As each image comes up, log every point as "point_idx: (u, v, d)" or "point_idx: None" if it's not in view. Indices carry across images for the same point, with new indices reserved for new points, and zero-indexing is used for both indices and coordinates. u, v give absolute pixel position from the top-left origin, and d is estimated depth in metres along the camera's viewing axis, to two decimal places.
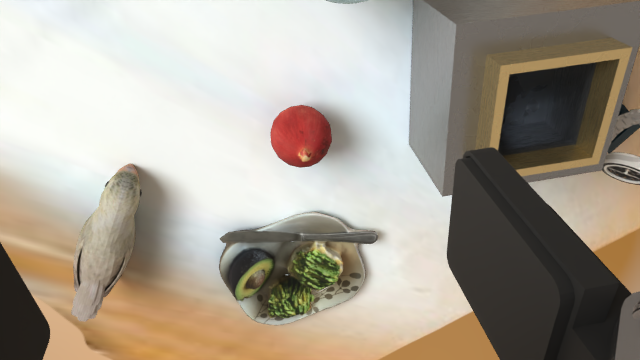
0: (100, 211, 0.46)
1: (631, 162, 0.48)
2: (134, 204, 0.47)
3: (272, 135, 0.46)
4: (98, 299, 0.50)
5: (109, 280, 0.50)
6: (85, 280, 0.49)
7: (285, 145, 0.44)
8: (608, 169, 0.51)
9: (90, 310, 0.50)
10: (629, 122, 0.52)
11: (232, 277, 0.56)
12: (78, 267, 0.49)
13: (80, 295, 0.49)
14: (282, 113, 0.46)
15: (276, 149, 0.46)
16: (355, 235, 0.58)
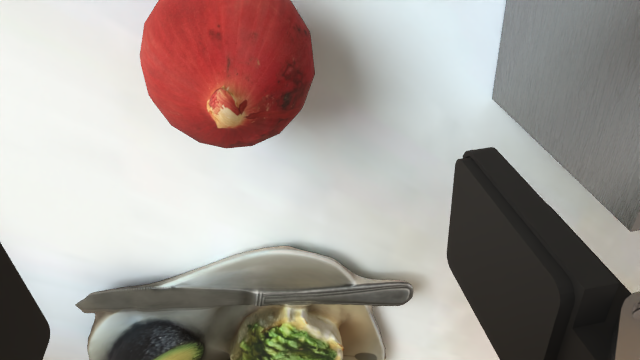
0: None
1: None
2: None
3: (141, 54, 0.16)
4: None
5: None
6: None
7: (170, 79, 0.14)
8: None
9: None
10: None
11: None
12: None
13: None
14: None
15: (152, 95, 0.16)
16: (368, 291, 0.28)
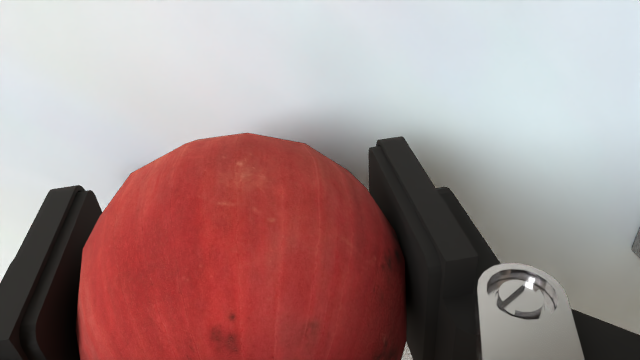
0: None
1: None
2: None
3: (77, 308, 0.08)
4: None
5: None
6: None
7: None
8: None
9: None
10: None
11: None
12: None
13: None
14: (131, 184, 0.08)
15: None
16: None
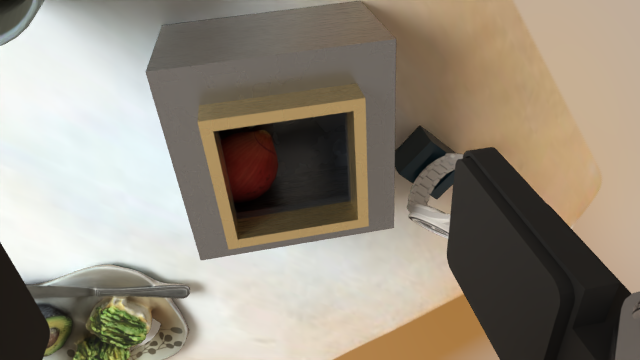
0: None
1: (430, 218, 0.41)
2: None
3: None
4: None
5: None
6: None
7: None
8: (419, 221, 0.45)
9: None
10: (448, 166, 0.46)
11: None
12: None
13: None
14: None
15: None
16: (161, 289, 0.52)
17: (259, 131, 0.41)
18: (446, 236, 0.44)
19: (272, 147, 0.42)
